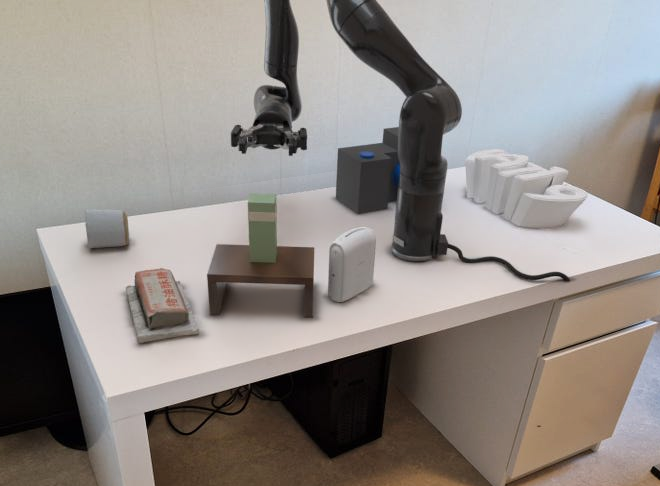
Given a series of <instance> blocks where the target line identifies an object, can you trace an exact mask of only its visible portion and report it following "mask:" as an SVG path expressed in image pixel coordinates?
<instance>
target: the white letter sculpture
mask: <svg viewBox="0 0 660 486" xmlns="http://www.w3.org/2000/svg"><path fill="white" fill-rule="evenodd" d="M529 159H530V158H529V156H528V155H524V154H518V153H508V152H507V151H506V150H504V149H502V148H492V149H483V150H479V151H476V152H473V153H472V154H470V155H469V156H467V158H466V159H465V162H464V163H465V164H464V165H465V166H464V167H465V183H466V184H465V185H466V198H467V199H473V203H476V204H478V205H479V204H484V203H485V209H487V210H489V211H491V212H492V213H493V214H495V215H501V214H502V218H503V219H504V220H506V221H509V222H510V223H512V224H513V225H515V226H517V227H523V228H532V229H534V228H535V229H543V228H544V229H546V228H554V227H560V226H562V225H564V223H565V222H567V220H568V219H569V218H570V217H571V216H572V215H573V214H574V213H575V212H576V210H578V209H579V207H580V206H581V205H582V204H583V203H584V202H585V201H586V200H587V199H588V198H589V194H588V192H587V191H586V190H584V189H582V188H580V187H577V186H574V185H569V184H567V185H566V184H564V182H565V181H566V178H567V177H568V175H569V173H570V172H569V171H568V169H566V168H563V167H559V166H551V167H550V168H549V169H546V168H544V167H542V166H540V165H538V164H536V163H533V162H532V161H531V162H530V161H529Z"/></svg>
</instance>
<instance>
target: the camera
mask: <svg viewBox="0 0 660 486" xmlns="http://www.w3.org/2000/svg"><path fill="white" fill-rule="evenodd" d="M398 132H399V126H395V127H387V128H383V132H382V142H378V143H369V144H368V143H367V144H361V145H356V146H355V145H353V146H345V147H339V148H337V158H336V159H337V160H336V182H335V199H336V200H337V201H338V202H339V203H341V204H343V205H344V206H345V207H347V208H349V209H350V210H351V211H352V212H354V213H355V214H356V215H361V214H366V213H367V214H368V213H372V212H377V211H384V210H388V208H389V207H388V206H389V205H388V204H389V203H392V202H397V193H398V183H399V173H400V161H399V158H398Z"/></svg>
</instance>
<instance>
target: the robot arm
mask: <svg viewBox="0 0 660 486" xmlns="http://www.w3.org/2000/svg"><path fill="white" fill-rule="evenodd" d="M263 1H264V2H263V3H264V15H265V37H264V38H265V39H264V40H265V41H264V56H263V57H264V59H263V71H264V73H265V74H266V76H268V77H269V78H271V79H273V80H276V81H278V82H281V83H282V84H283V85H284V86H279V85H278V86H276V85H270V84H262V85H261V86H259V87H257V88H256V90H255V93H254V95H253V108H254V112H255V116H254V119H253V123H252V126H250V127H249V128H248V129H244V128H243V126H242V125H241V124H235V125H234V126H233V128H232V129H231V131H230V147H232V148H237V149H238V150H237V151H238V152H241V154H242V155H245V154H247V150H248V148H252V149H256V148H259V147H262V148H264V149H266V150H271V151H272V150H279V149H283V150H285V151H286V150H288V157H293V156H294V155H293V154H295V155H296V154H297V152H298V149H300V150H302V151H307V150H308V131H307V128H306V127H300V128H299V129H298V130H297V131H293V122H295V121H297V120H298V119H299V117H300V116H301V114H302V109H303V106H302V104H303V103H302V98H301V92H300V88H299V81H298V80H299V79H298V63H299V62H298V61H299V50H300V49H299V47H300V35H299V33H300V32H299V28H298V24H297V21H296V17H295V15H294V12H293V9H292V3H291V0H263ZM325 1H326V5H327V10H328V11H327V12H328V15H329V20H330V23H331V25H332V27H333V29H334V31H335V33H336V34H337V35H338V37H339V38H340V39H341V40H342V42H343V43H344V45H346V47H347V48H348V49H349V50H350V52H351V53H352V54H353V55H354V56H355V57H356V58H357V59H359V60H360V61H361V62H362V63H363V64H364V65H366V66H368V67H369V68H370V69H372V70H374V71H375V72H377V73H378V74H380V75H382V76H383V77H385V78H386V79H388V80H389V81H390V82H392V83H393V84H394V85H395V86H396V87H398V90H400V91H401V92H402V94H403V95H404V97H405V98H404V100H403V102H402V105H401V107H400V113H399V117H398V127H399V132H398V158H399V161H400V173H399V183H398V193H397V201H396V204H395V205H396V206H395V213H394V223H393V224H394V226H393V233H392V237H391V239H392V240H391V241H392V244H391V253H392V254H393V256H395V257H396V258H398V259H401V260H404V261H409V262H426V261H430V260H437V259H438V256H447V255H448V249H449V250H452V251H454V252H455V253H457V255H458V256H457V257H458V259H459V260H460V261H461V262H463V263H466V264H476V263H477V264H479V263H484V262H485V263H486V262H496V263H499V264H501V265H503V266H504V267H506V268H507V269H508V270H509V271H510V272H511V273H512V274H514V275H515V276H517V277H519V278H521V279H524V280H528V281H539V280H545V279H548V278H553V277H559V278H560V279H562V280H563V281H565V282H567V283H568V282H571V279H570V277H569V276H568V275H566V274H565V273H563V272H561V271H550V272H545V273H541V274H532V275H531V274H528V273H527V274H526V273H524V272H522V271H520V270H518V269H517V268H515V266H514V265H512V264H511V263H510V262H509V261H507V260H506V259H504V258H502V257H498V256H483V257H478V258H468V257H465V256H464V255H463V251H462V250H461V248H459V247H458V246H456V245H453V244H451V243H449V242H448V238H447V236H446V234H443V233H442V227H443V226H442V225H443V220H444V219H443V218H444V215H443V212H442V208H443V202H444V193H445V187H446V180H447V173H448V160H447V158H445V156H442V147H443V138H444V137H443V136H444V135H445V134H448V133H449V132H451V131H453V130H455V128H457V126H458V125H459V124H460V121H461V119H462V115H463V107H462V103H461V99H460V98H459V95H458V94H457V92H456V90H454V89H453V87H452V86H451V85H450V84H449V83H448V82H447V81H446V80H445V79H444V78H443V77H442V76H441V75H440V74H439V73H438V72H437V71H436V70H435V69H434V68H433V67H432V66H430V64H429V63H428V62H427V61H426V60H425V59H424V58H423V57H422V56H421V55H420V54H419V52H418V51H417V50H416V49H415V47H414V46H413V45H412V43H411V42H410V41H409V39H408V38H407V37H406V36H405V34H404V33H403V32H402V31H401V30H400V28H399V27H398V26H397V25H396V24H395V22H394V21H393V19H392V18H391V17H390V16H389V14H388V12H386V11H385V9H384V8H383V7H382V6H381V4H380V3H379V2H378V0H325ZM541 426H542V425H537V427H538V428H541Z"/></svg>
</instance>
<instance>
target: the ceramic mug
mask: <svg viewBox="0 0 660 486" xmlns="http://www.w3.org/2000/svg"><path fill="white" fill-rule="evenodd" d="M84 221H85V230H86V231H85V232H86V238H87V239H86V241H87V246H88V248H89V249H100V248H112V247H124V246H127V245H129V244H130V231H129V220H128V213H127V212H126V211H124V210H120V209H86V210H85V211H84Z"/></svg>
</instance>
